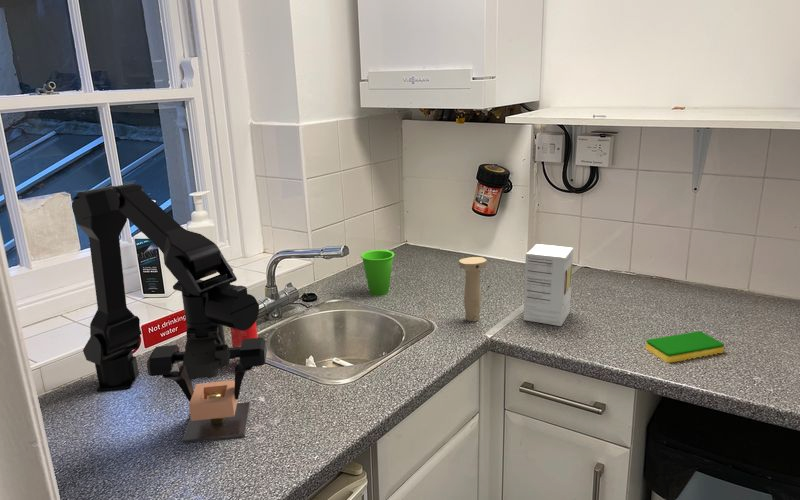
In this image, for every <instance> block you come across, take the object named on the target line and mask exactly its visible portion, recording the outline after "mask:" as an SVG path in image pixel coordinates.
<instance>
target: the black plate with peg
mask: <svg viewBox="0 0 800 500" xmlns="http://www.w3.org/2000/svg"><path fill="white" fill-rule="evenodd" d="M219 397H222V393H221V392H219V391H215V392H211V393H209V394H208V395H207V399H209V398H219ZM250 406H251V402H250V401H249V402H248V401H247V402H240V403H238V402H237V406H236V411H235V415H234V416H233V417H224V418H214V419H205V420H196V421H191V416H190V417H189V420H188V423H187V425H186V429H185V431H184V434H183V438H182V444H189V443H190V444H192V443H199V442H200V443H201V442H209V441H216V440H226V439H236V438H244V437H245V436H246V431H247V424H248V420H249V419H248V418H249V414H250V413H249V412H250Z"/></svg>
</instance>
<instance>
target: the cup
mask: <svg viewBox="0 0 800 500" xmlns="http://www.w3.org/2000/svg"><path fill="white" fill-rule="evenodd" d="M394 257H395V253H394V252H393V251H392V250H387V249H372V250H368V251H364V252H362V253H361V254H360V258H361V259H362V263H363V267H364V272H365V276H366V277H365V278H366V281H367V286H368V290H369V294H370V295H371V296H374V297H383V296H387V295H388V294H389V291H390V285H391V276H392V275H391V274H392V268H393V260H394Z"/></svg>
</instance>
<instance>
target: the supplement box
mask: <svg viewBox="0 0 800 500" xmlns="http://www.w3.org/2000/svg"><path fill="white" fill-rule="evenodd" d="M573 259H574V247H569V246H561V245H560V246H559V245H550V244H542V243H541V244H539V243H536V244H535V245H534V246H533V247H532V248H531V249H530V250H529V251H528V252H526V253H525V266H524V267H525V269H524V270H525V271H524V298H523V299H524V301H523V302H524V303H523V321H528V322H533V323H538V324H539V323H541V324H546V325H550V326H551V325H553V326H558V327H562V325H563V324H564V323H565V321H566V320H567V318H568V316H569V314H570V313H571V312H570V311H571V294H572V293H571V291H572V277H573V276H572V275H573V261H574V260H573Z"/></svg>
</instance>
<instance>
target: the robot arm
mask: <svg viewBox="0 0 800 500" xmlns="http://www.w3.org/2000/svg"><path fill="white" fill-rule="evenodd" d="M71 208H72V212H73V214H74V217H75V222H76V224H77V226H78V227H79V228H80V229H81V230H82V231H83V232H84V233H85V235H86V236H87V237H88V241H89V248H90V258H91V263H92V264H91V265H92V273H93V282H94V287H95V298H96V305H97V310H96V312H95V313H94V315H93V317H92V320H91V322H90V324H89V329H90V331H89V333H90V334H89V335H90V337H89V339H88V340H87V343H86V344H85V345H84V347H83V349H82V352H83V355H84V357H85V360H86V361H88V362H90V363H93V364H94V366H95V367H94V368H95V371H96V376H97V382H98V385H97V387H95V391H96V392H102V391H103V392H104V391H111V390H112V391H113V390H123V389H131V387H133V384H134V383H135V381H136V380H137V378H138V376H139V375H140V371H139V367H138V361H137V357H136V356H134V354H133V351H134V350H138V349H139V348H140V341H141V335H142V330H141V327H140V326H141V325H140V324H141V323H140V321H141V319H140V317H139V316H137V315H135V314H134V313H133V312H132V311H131V310H130V309H129V308H128V306H127V297H126V290H125V278H124V270H123V268H124V267H123V261H122V253H121V251H122V250H121V242H120V235H121V233H122V231H123V229H124V227H125V225H126V223H127V221H128V220H129V221H130V223H132V224H133V225H134V226H135V228H137V229H138V230H139V231H140V232H141V233H142V234H144V236H146V238H148V240H150V241H151V242H152V244H154V245H155V246H156V247H157V248H158V249H159V250H160V251H161V252H162V255H163V262H164V263H163V264H164V266H165V267H166V269H168V271H169V272H170V273H171V274H172V275H173V277H174V278H175V279H176V280H177V282H175V283H174V285H172V289H173V290H175V291H179V292H181V297H182V298H181V299H182V303H183V311H184V312H183V313H184V318H185V327H186V331H185V332H186V341H185V342H186V343H185V347H184V349H185V350H184V351H180V347H179V346H178V345H177V344H172V345H170V344H169V345H158V346H156V347H155V348H154V349H153V350H152V352H151V354H150V356H149V357H148V360H147V363H146V368H147V374H148V375H149V376H150V377H157V376H162V377H163V378H164V379H170V380H172V381H174V382H175V383H176V384H177V385H178V386H179V388H180V390H181V391H182V392H183V394H184V395H185V397H186V398H187V400H188V402H189V403H190V400H191V398H192V395H193V392H194V387H193V386H194V385H193V381H194V380H197V379H204V378H205V379H213V378H215V377H217V375H218V374H219V370H223V369H224V367H229V366H230V361H231V360H234V359H235V360H236V363H235V365H234V369H233V373H234V380H235V399H236V400H237V399H238V400H239V397H240V392H241V387H242V382H243V381H244V376H245V374H246V373H247V372H249V371H251V370H253V368H254V367H262V366H264V365H265V364H266V361H267V360H266V358H267V353H268V349H267V348H268V347H267V341H266V340H265V339H264V338H263V336H262V337H258V338H250V339H242V343H241V346H238V347H233V346H232V347H231V346H230V347H229V345H228V344H227V343H226V339H225V331H224V327H227V328H229V329H230V328H233V329H237V330H241V331H244V330H247V329H249V328H250V327H252V326H253V324H254V323H255V322H256V323H257V320H258V317H259V314H260V304H259V302H258V300H257V299H256V297H255V296H254V295H252V294H250V293H249V294H248V288H247V286H244V285H235V284H233V283H234V282H236V281H237V279H238V278H237V276H236V274H235V273H234V272H233V271H234V269H233V267H231V265H230V264H229V263H228V262H227V259H226V258H225V257H224V255H223V253H222V251H221V250H220V248H219V247H218V245H217V244H216V243H215V242H214V241H212V240H211V239H209V238H208V237H206V236H204V234H201V233H199V232H194V231H191V230H188V229H186V228H184V227H183V226H182V225H181V224H179V223H178V222H177V221H176V220H175V219H173V217H171V215H170V214H168V213H167V212H166V211H165V210H164V209H163V208H162V207H161V206H159V204H157V202H155V201H154V200H153V198H151V197H149V195H148V194H146V191H145V189H144V188H143V186H142V185H141V184H139V183H134V182H131V183H125V184H120V185H115V186H114V185H108V186H105V187H98V188H94V189H89V190H83V191H79V192H77V193H76V195H75V196H74V197H73V198H72V203H71ZM217 273H218V275H215V276H212V275H214V274H217ZM209 276H212V277H210V278H208V277H209ZM204 278H207V279H205V280H202V279H204Z"/></svg>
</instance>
